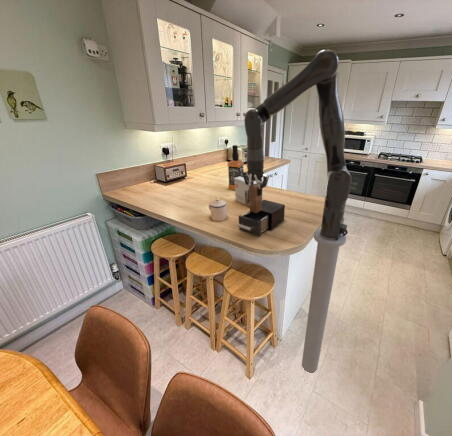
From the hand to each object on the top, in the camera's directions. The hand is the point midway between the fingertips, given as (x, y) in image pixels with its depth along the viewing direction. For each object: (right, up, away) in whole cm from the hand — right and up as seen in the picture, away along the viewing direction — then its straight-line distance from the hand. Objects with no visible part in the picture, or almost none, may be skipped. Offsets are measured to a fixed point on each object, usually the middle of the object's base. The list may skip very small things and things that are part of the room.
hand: (255, 194), depth 111 cm
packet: (0, -8, +4) cm, 8 cm away
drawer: (-1, -17, +7) cm, 19 cm away
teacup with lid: (-22, -11, +22) cm, 33 cm away
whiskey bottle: (-16, +12, +68) cm, 71 cm away
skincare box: (-5, -2, +40) cm, 41 cm away
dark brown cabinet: (+6, -14, +17) cm, 22 cm away
